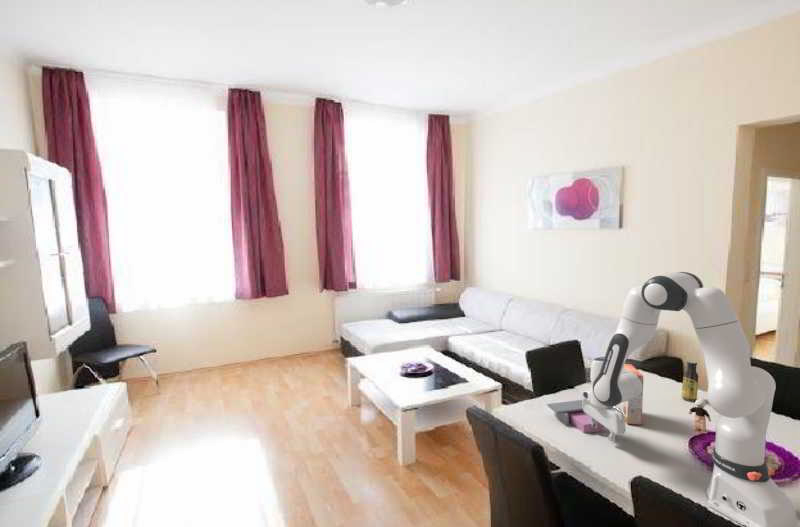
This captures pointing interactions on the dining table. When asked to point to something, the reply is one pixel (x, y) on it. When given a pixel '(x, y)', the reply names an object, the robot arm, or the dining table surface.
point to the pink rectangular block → (583, 421)
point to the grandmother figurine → (700, 416)
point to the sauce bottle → (690, 382)
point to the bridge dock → (565, 409)
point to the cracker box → (632, 402)
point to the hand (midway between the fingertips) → (602, 434)
